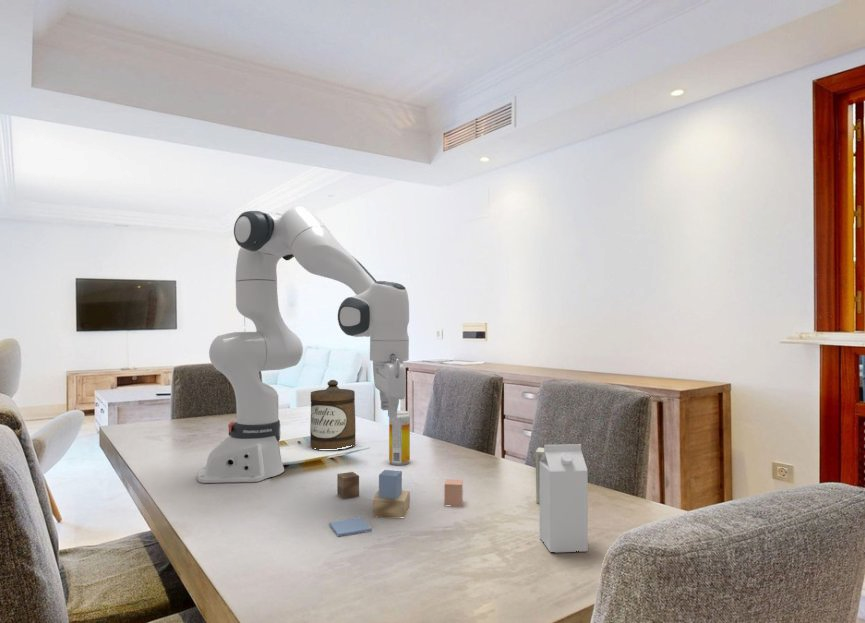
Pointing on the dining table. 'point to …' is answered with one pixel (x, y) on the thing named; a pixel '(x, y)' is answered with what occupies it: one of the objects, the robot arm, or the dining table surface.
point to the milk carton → (564, 498)
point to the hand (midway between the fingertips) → (388, 413)
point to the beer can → (399, 438)
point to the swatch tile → (349, 526)
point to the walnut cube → (348, 485)
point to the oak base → (391, 505)
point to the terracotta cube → (453, 492)
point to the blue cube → (390, 484)
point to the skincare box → (538, 472)
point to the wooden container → (332, 417)
